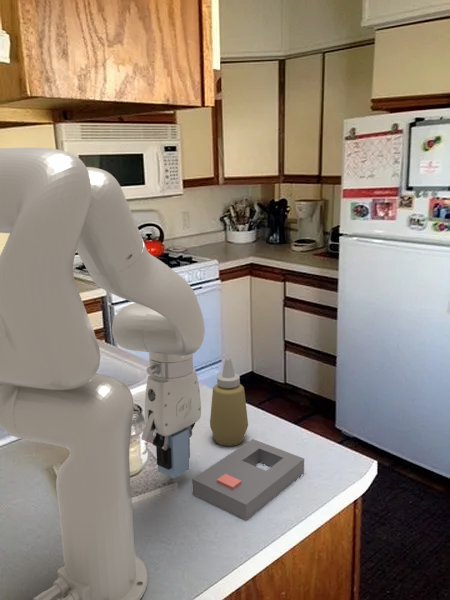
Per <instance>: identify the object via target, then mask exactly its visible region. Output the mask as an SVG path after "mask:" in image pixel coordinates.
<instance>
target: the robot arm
mask: <svg viewBox="0 0 450 600" xmlns="http://www.w3.org/2000/svg"><path fill="white" fill-rule="evenodd" d="M128 203H129V202H128V200H127V199H126V196H125V193H124V191H123V188H122V186H121V185H120V183H119V182H118V180H117V179H116V178H115V176H113V175H112V173H110V172H108V171H107V170H104V169H101V168H97V167H93V166H86V165H85V163H84V161H82V159H81V158H80V157H78V156H77V155H75V154H73V153H71V152H68V151H65V150H61V149H57V148H51V147H8V148H7V147H5V148H0V234H1V233H2V234H9V235H8V238H7V240H6V242H5V244H4V247H3V249H2V250H1V252H0V428H1V429H2V430H3V431H5V432H6V433H7V434H9V435H10V436H12V437H15V438H18V439H21V440H27V441H31V442H38V443H42V444H50V445H54V446H59V447H63V448H65V449H67V451H69V455H68V457H67V458H66V459H65V461H63V462H62V464H61V466H60V467H59V469H58V470H57V471H58V472H57V475H56V479H55V481H56V482H55V487H56V488H55V489H56V498H57V504H58V514H59V525H60V534H61V544H62V545H61V546H62V554H63V557H62V558H63V566H61V567H59V568H58V569H57V570H56V571H57V579H56V580H55V581H53V583H52V586H51V587H50V588H48V589H47V590H44V591H42V592H41V593H39V594H38V595H37V596H35V597H34V598H33V599H32V600H141V598H143V596H144V594H145V593H146V590H147V587H148V580H149V579H148V569H147V567H146V565H145V563H144V562H143V560H142V559H141V558H140V557H139V556H138V555H137V554H136V550H135V548H136V547H135V532H134V519H133V518H134V517H133V502H132V501H133V500H132V499H133V498H132V486H131V473H130V472H131V470H130V466H131V465H130V444H131V435H132V434H131V432H132V425H133V418H134V405H135V404H134V396H133V393H132V391H131V390H130V388H129V387H128V386H127V384H126V383H125V382H123V381H121V380H120V379H117V377H113V376H110V375H107V374H102V373H98V372H99V368H100V363H101V349H100V345H99V342H98V338H97V335H96V333H95V330H94V328H93V326H92V323H91V321H90V318H89V315H88V312H87V310H86V307H85V305H84V303H83V300H82V297H81V294H80V291H79V289H78V286H77V282H76V279H75V273H74V262H75V256H76V252H77V255H78V256H79V258H80V259H81V262H82V263H83V265H84V266H85V268H86V270H87V273H88V274H89V276H90V278H91V280H92V282H93V283H94V284H95V285H96V286H97V287H99V288H100V289H102V290H104V291H106V292H107V293H110V294H112V295H114V296H117V297H118V298H121V299H123V300H126V301H129V302H132V303H130V304H128V305H125V306H124V307H122V308H121V309H120V310H119V311H118V312H117V313H116V315H115V317H114V318H113V322H112V325H111V334H112V337H113V339H114V342H115V343H116V344H117V345H118V346H119V347H121V348H123V349H125V350H127V351H128V350H129V351H134V352H140V353H141V352H142V353H148V359H149V360H148V361H149V365H148V367H146V374H148V375H149V376H147V380H146V385H145V386H146V387H145V396H144V397H145V399H144V422H145V427H144V429H143V431H142V434H141V440H143V441H145V442H147V443H151V444H152V445H153V446H154V447H155V449H156V450H155V451H156V453H155V454H156V465H157V466H158V465H159V466H161V467H163V468H165V469H167V470H169V469H171V448H168V447H169V439H170V435H172V434H174V433H176V432H178V431H180V430H182V429H184V428H187V429H189V459H190V458H191V457H190V456H191V452H190V451H191V450H190V447H191V446H190V445H191V444H190V441H191V439H190V438H191V437H192V435H193V429H194V427H195V425H196V423H197V422H198V421H199V420H200V419H201V416H202V405H201V404H202V403H201V391H200V384H199V378H198V374H197V371H196V368H194V366H193V365H194V363H193V360H194V358H193V354H195V353H196V352H197V351H199V350H200V349H201V347H202V344H203V342H204V339H205V331H206V330H205V321H204V316H203V313H202V309H201V306H200V304H199V301H198V298H197V296H196V293H195V291H194V289H193V288H192V286H191V284H189V283H188V281H186V280H185V279H184V278H183V277H182V276H181V275H179V274H178V273H177V272H176V271H174V270H173V269H172V268H171V267H170V266H168V265H167V264H166V263H165V262H163V261H162V260H160V259H159V258H157V257H156V256H154V255H152V254H151V253H150V252H149V251H148V249H147V246H146V244H145V242H144V239H143V237H142V234H141V232H140V230H139V227H138V225H137V223H136V220H135V218H134V215H133V213H132V210H131V208H130V206H129V204H128ZM161 435H162V436H163V440H161V439H160V437H161Z"/></svg>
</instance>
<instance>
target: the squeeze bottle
mask: <svg viewBox="0 0 450 600" xmlns="http://www.w3.org/2000/svg"><path fill="white" fill-rule="evenodd" d="M240 378H241V377H240V375H239V374H238V373H236V372H234V367H233V363H232V359H231V358H225V361H224V365H223V370H222V373H220V374H218V375H217V376H216V384H215V385H214V386H213V387H212V393H211V396H212V397H211V405H210V418H209V427H210V429H211V432H212V435H213V438H214V440H215V442H216V443H218V444H219V445H221V446H225V447H226V446H227V447H229V446H231V447H232V446H236V445H237V446H238V445H239V444H241V443H242V442H243V440H244V438H245V436H246V432H247V429H248V426H249V422H248V421H249V419H248V410H247V403H246V402H247V401H246V392H245V387H244V386H243V385H242V384H241V381H240Z"/></svg>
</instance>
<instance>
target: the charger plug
mask: <svg viewBox="0 0 450 600" xmlns="http://www.w3.org/2000/svg"><path fill="white" fill-rule="evenodd" d="M160 439H161V440H163V436H162V435H161V437H160ZM189 439H190V438H189V429H187V428H184V429H182V430H180V431H178V432H176V433H174V434H172V435H170V439H169V447H168V448H171V469H169V470H167V469H165V468H163V467H161V466H159V465H157V472H158V473H161V474H162V475H165V476H167V477H169V478H172V479H176V478H177V477H179V476H181V475H183V474H184V473H186V472H187V471H189V470H190V458H189Z"/></svg>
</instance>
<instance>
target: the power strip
mask: <svg viewBox="0 0 450 600" xmlns="http://www.w3.org/2000/svg"><path fill="white" fill-rule="evenodd" d="M259 463H260V464H262V465H264V466H265V465H266V466H268V467H270V468H268V469H267V470H266V469H263V468H260V467H259V466H256V465H258V464H259ZM304 473H305V458H304V457H300V456H298V455H296V454H293V453H291V452H289V451H285V450H282V449H281V448H278V447H275V446H272V445H270V444H268V443H264V442H263V441H259V440H257V439H254V438H252V439H251V440H249V441H248V442H246V443H244V444H243V445H241V446H240V447H238V448H237V449H235V450H234V451H232V452H231V453H229V454H228V455H226V456H225V457H223V458H222V459H219V461H217V462H215V463H214V464H212V465H211V466H209V467H208V468H207V469H205V470H203V471H201V472H200V473H198V474H197V475H196V476H193V478H192V479H191V484H192V485H191V486H192V487H191V488H192V489H191V491H192V495H194V496H196V497H198V498H200V499H202V500H204V501H207V502H208V503H210V504H212V505H215V506H216V507H218V508H220V509H222V510H224V511H227V512H228V513H230V514H232V515H234V516H236V517H238V518H240V519H242V520H244V521H248V520H249V519H250V518H251V517H252V516H254V515H255V514H256V513H257V512H258V511H260V510H261V509H263V507H264V506H266V505H267V504H268V503H269V502H271V501H272V500H273V499H275V497H277V496H278V495H279V494H280V493H281V492H283V491H284V490H285V489H287V487H289V486H290V485H291V484H292V483H294V482H295V481H296V480H298V478H300V477H301V476H302V475H304Z"/></svg>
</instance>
